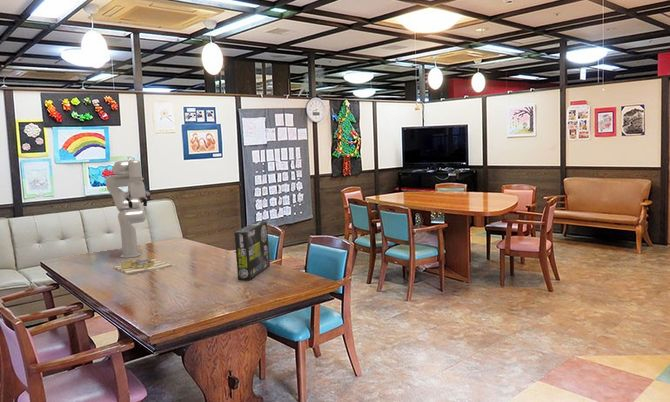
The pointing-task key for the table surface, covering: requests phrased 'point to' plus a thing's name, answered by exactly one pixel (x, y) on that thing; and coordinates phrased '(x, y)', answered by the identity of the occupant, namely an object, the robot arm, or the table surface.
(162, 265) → the base
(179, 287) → the table surface
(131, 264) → the ring nut
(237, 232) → the box
